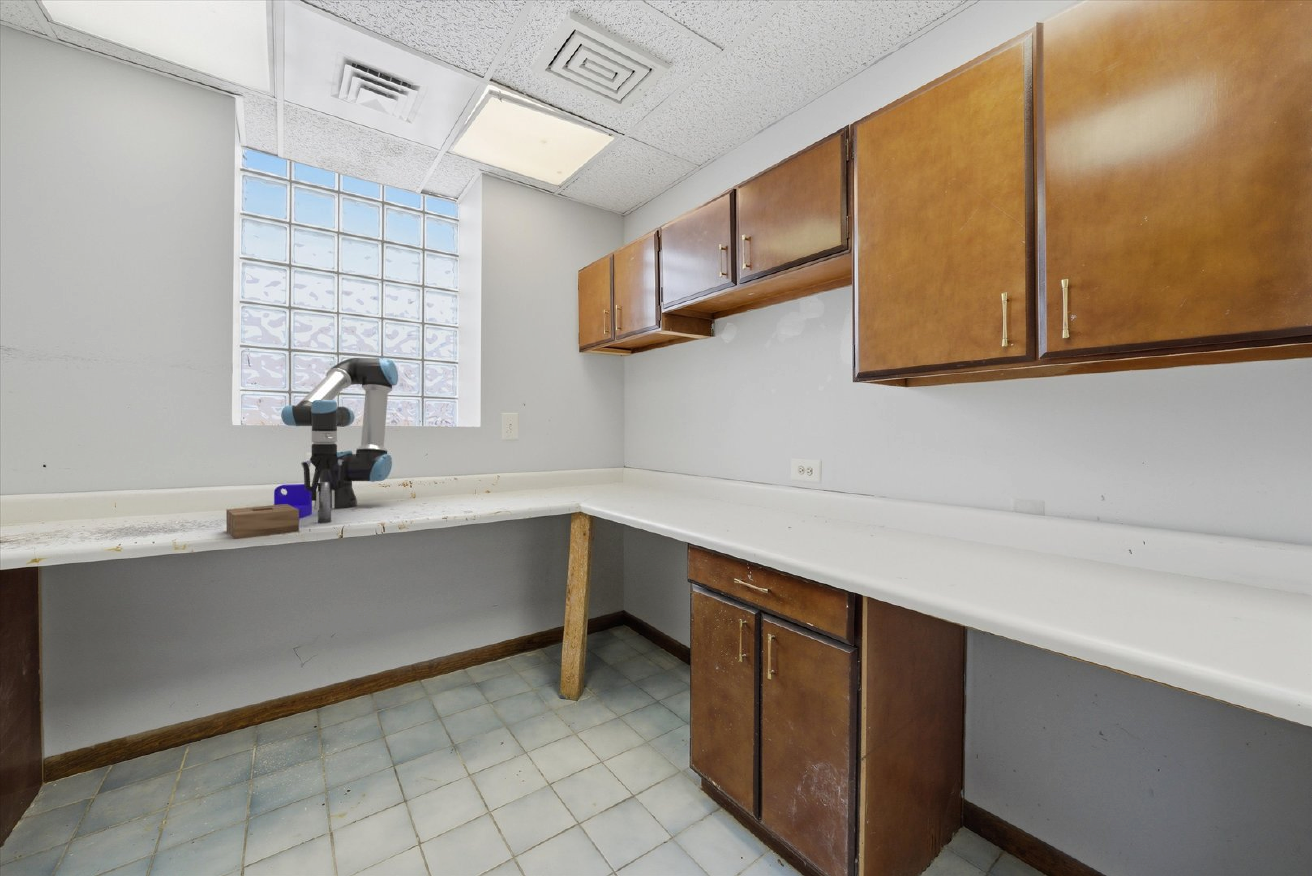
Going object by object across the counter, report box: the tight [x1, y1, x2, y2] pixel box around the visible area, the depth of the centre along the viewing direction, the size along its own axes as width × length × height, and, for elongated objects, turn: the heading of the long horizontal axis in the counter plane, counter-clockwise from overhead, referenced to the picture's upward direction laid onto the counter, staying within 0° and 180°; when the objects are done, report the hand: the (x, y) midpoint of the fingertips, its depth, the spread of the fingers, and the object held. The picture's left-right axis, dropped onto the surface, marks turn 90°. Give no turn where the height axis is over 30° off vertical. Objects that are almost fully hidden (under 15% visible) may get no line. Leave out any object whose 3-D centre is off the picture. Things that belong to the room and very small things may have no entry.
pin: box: [317, 481, 332, 524], centre depth 175 cm, size 4×4×14 cm
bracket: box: [273, 483, 313, 520], centre depth 181 cm, size 18×11×12 cm, turn 25°
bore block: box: [225, 504, 300, 540], centre depth 159 cm, size 16×16×7 cm
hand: (324, 508), depth 175 cm, fingers closed on pin, 4 cm apart
